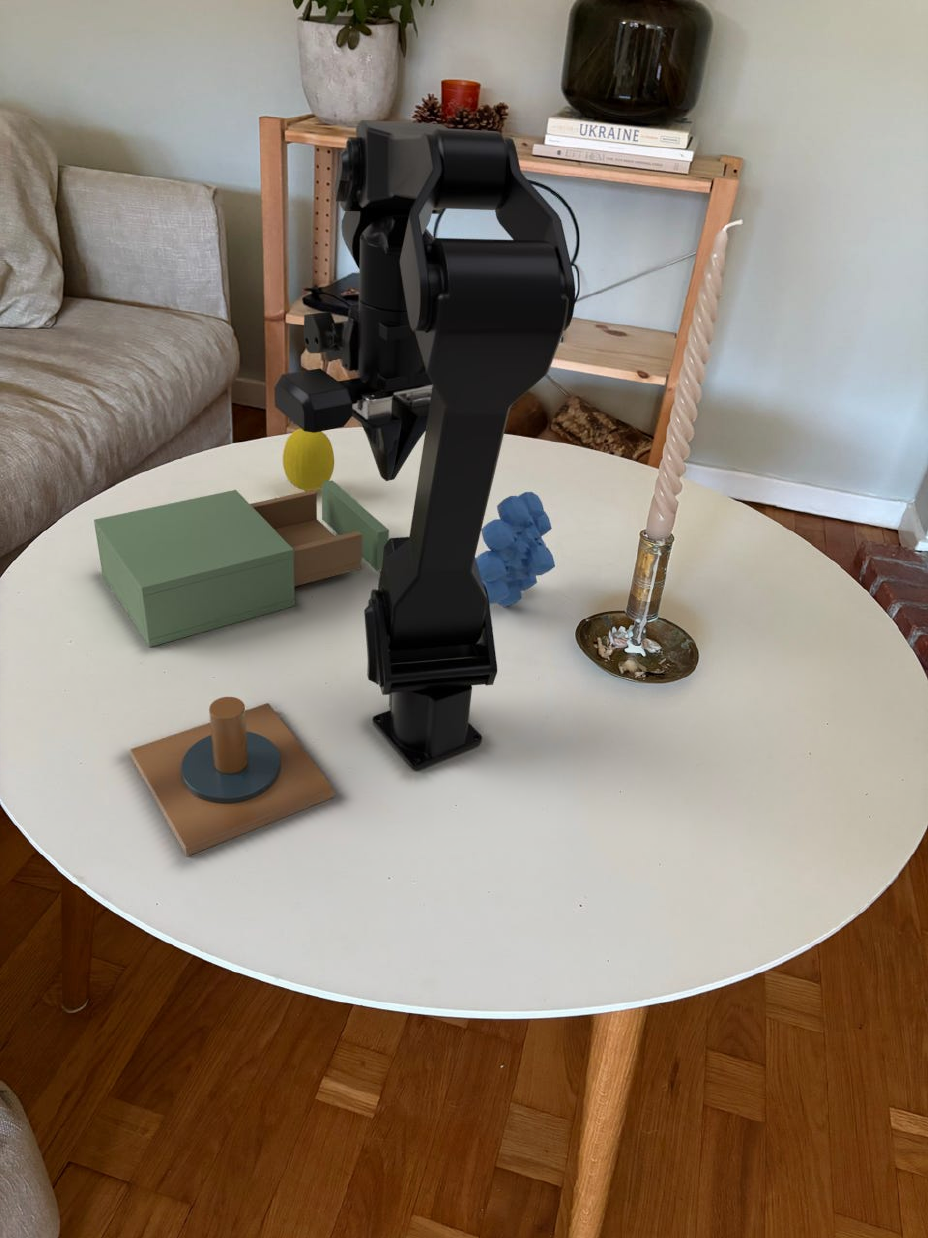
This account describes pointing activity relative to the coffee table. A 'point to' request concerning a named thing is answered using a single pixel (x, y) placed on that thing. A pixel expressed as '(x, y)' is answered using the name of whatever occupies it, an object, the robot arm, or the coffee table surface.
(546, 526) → the grapes
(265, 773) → the pot lid
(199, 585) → the cabinet
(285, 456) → the lemon
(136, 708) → the coffee table surface
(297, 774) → the wooden peg base
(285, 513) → the drawer
